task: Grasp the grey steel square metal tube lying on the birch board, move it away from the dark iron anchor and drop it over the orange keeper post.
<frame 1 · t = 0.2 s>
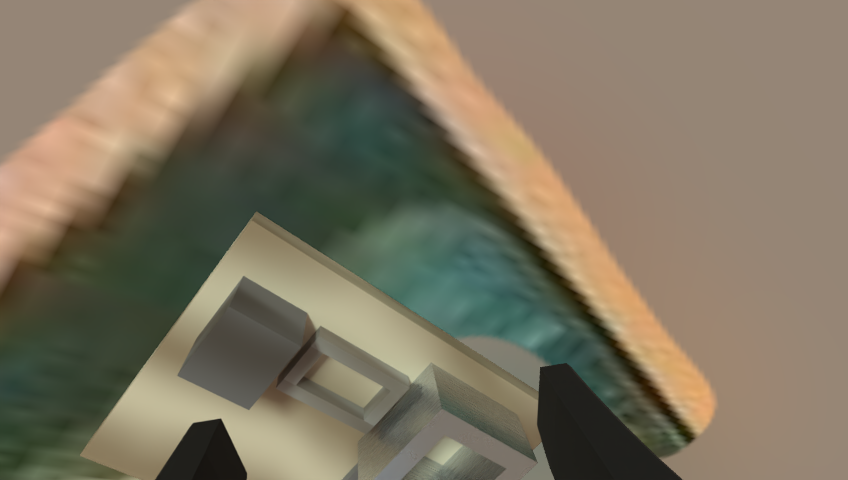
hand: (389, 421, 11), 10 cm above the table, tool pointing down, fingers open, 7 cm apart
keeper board: (338, 420, 24), on the table
square metal tube: (438, 427, 24), point 1 cm above the table, touching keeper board
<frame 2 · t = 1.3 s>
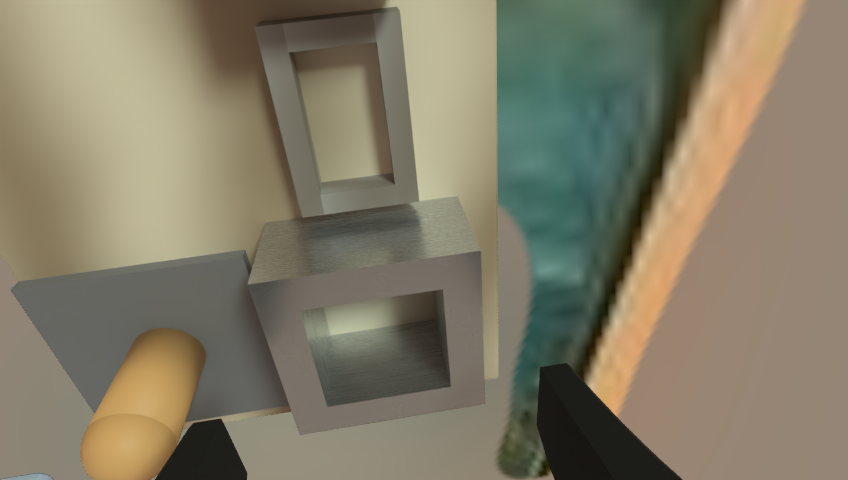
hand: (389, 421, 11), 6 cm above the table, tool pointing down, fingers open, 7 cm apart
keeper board: (254, 177, 14), on the table
keeper post: (182, 325, 17), resting on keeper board
square metal tube: (376, 285, 16), point 1 cm above the table, touching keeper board
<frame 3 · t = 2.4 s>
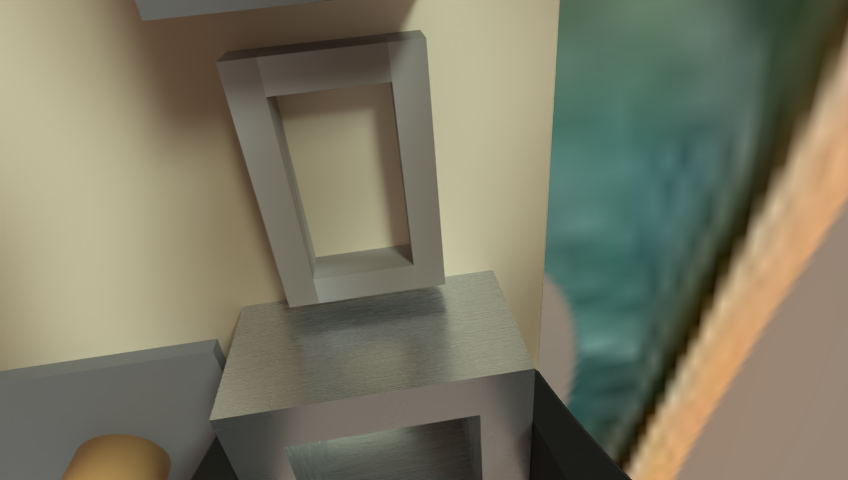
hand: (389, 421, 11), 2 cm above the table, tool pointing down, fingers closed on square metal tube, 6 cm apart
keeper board: (229, 245, 11), on the table
keeper post: (143, 416, 13), resting on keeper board
square metal tube: (385, 374, 12), point 1 cm above the table, touching gripper, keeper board
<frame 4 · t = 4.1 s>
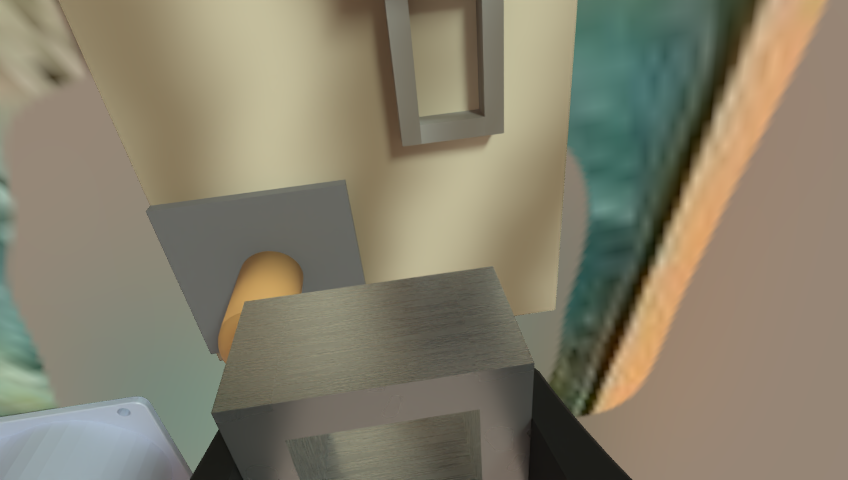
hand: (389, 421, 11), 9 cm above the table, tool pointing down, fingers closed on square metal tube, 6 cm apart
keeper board: (354, 115, 16), on the table
keeper post: (277, 255, 19), resting on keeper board
square metal tube: (386, 370, 12), point 7 cm above the table, touching gripper
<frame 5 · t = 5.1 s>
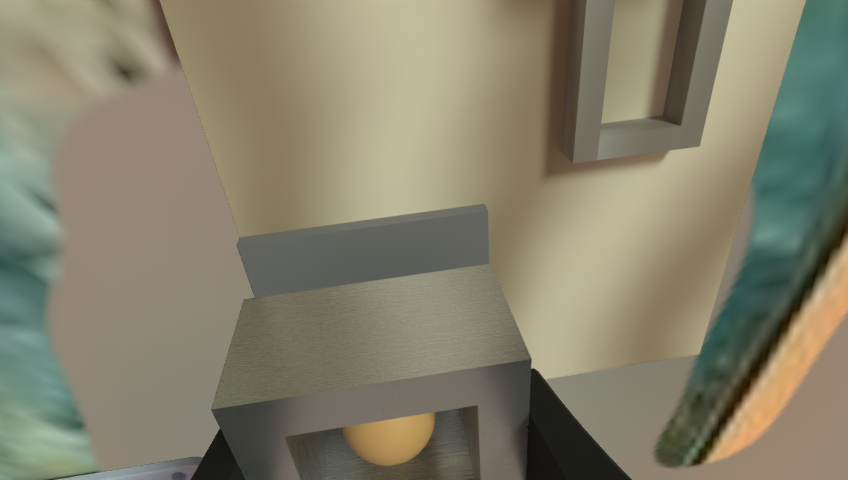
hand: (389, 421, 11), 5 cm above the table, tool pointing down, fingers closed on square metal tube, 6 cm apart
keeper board: (496, 122, 13), on the table
keeper post: (378, 293, 15), resting on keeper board
square metal tube: (385, 368, 12), point 3 cm above the table, touching gripper
when the fingers open (5 cm above the table, at t = 5.7 s): square metal tube drops 2 cm, resting on keeper post.
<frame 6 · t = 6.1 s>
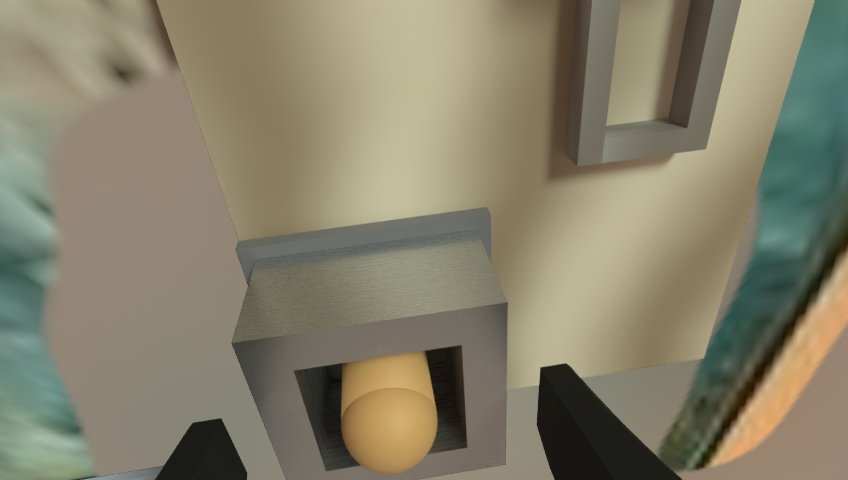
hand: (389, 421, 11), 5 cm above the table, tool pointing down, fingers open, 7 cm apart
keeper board: (499, 124, 13), on the table
keeper post: (379, 296, 15), resting on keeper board
square metal tube: (381, 326, 14), point 1 cm above the table, touching keeper post
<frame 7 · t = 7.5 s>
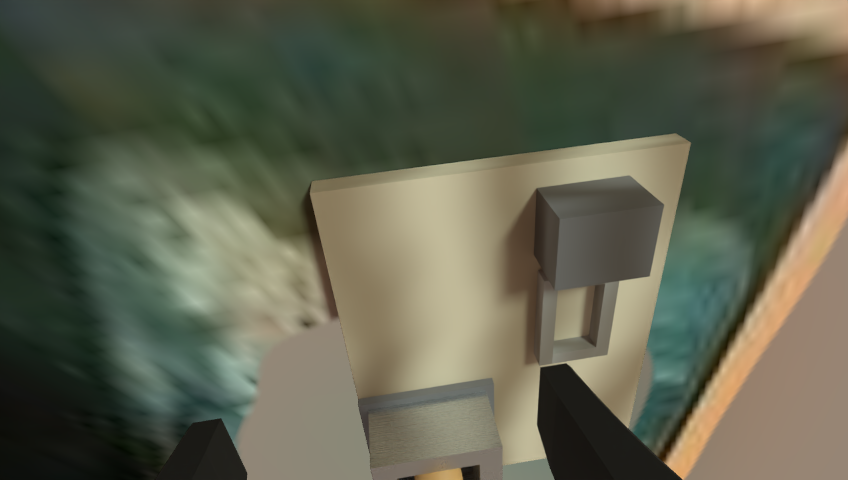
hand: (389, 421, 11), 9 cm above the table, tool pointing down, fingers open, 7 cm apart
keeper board: (498, 333, 23), on the table
keeper post: (428, 414, 26), resting on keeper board
square metal tube: (431, 437, 24), point 1 cm above the table, touching keeper post
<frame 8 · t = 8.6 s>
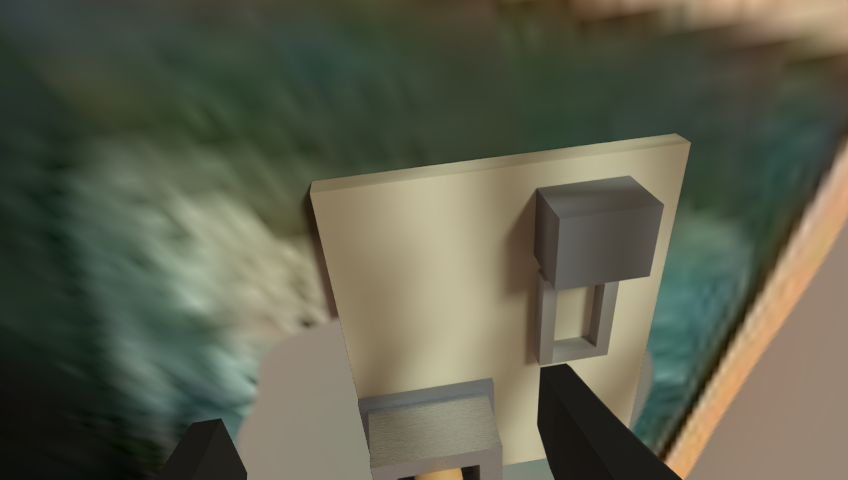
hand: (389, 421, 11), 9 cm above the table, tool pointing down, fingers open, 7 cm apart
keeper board: (498, 333, 23), on the table
keeper post: (428, 414, 26), resting on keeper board
square metal tube: (431, 437, 24), point 1 cm above the table, touching keeper post
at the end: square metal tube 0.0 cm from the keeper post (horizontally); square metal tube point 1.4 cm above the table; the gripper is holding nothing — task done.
